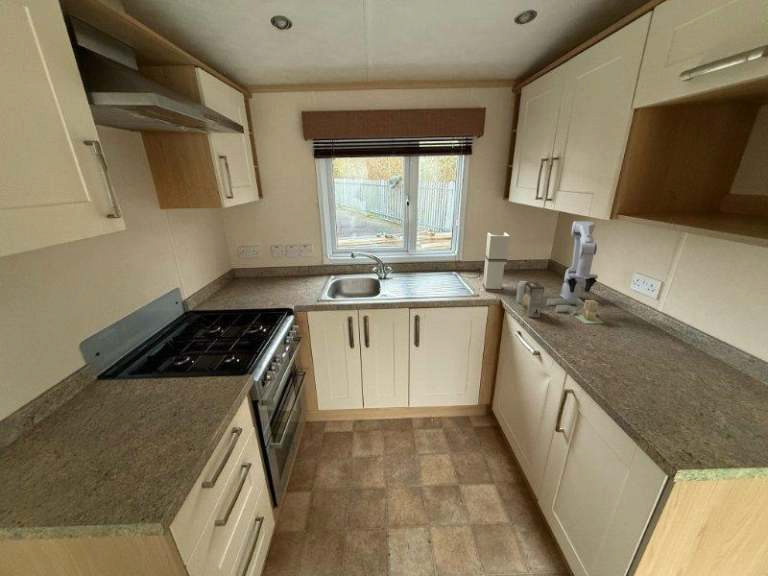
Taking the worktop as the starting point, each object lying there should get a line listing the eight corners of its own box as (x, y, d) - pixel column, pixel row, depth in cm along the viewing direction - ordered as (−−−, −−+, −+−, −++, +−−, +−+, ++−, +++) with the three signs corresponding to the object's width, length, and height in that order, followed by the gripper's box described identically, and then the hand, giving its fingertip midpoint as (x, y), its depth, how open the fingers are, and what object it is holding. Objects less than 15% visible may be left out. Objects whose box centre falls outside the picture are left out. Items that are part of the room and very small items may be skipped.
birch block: (581, 316, 153) (585, 300, 150) (589, 316, 152) (593, 300, 149) (586, 320, 149) (590, 303, 146) (594, 320, 149) (598, 303, 146)
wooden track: (546, 304, 169) (547, 298, 168) (575, 303, 169) (576, 298, 168) (560, 315, 155) (562, 309, 154) (592, 315, 155) (594, 308, 154)
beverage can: (529, 304, 169) (532, 284, 165) (517, 304, 170) (519, 283, 166) (526, 300, 175) (529, 280, 171) (514, 299, 176) (517, 280, 172)
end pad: (574, 315, 155) (574, 315, 154) (591, 315, 154) (592, 314, 154) (585, 323, 146) (585, 323, 146) (603, 323, 146) (604, 322, 146)
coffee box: (520, 309, 163) (524, 281, 158) (533, 309, 163) (537, 281, 157) (527, 317, 154) (531, 287, 149) (540, 317, 154) (545, 287, 149)
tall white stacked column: (503, 292, 188) (509, 235, 176) (485, 291, 190) (490, 235, 178) (499, 286, 199) (505, 232, 187) (482, 285, 200) (487, 232, 189)
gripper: (574, 269, 149) (569, 295, 154) (604, 268, 149) (598, 294, 154) (566, 265, 156) (561, 290, 160) (594, 264, 156) (589, 289, 160)
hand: (579, 291), depth 157 cm, fingers open, 7 cm apart
